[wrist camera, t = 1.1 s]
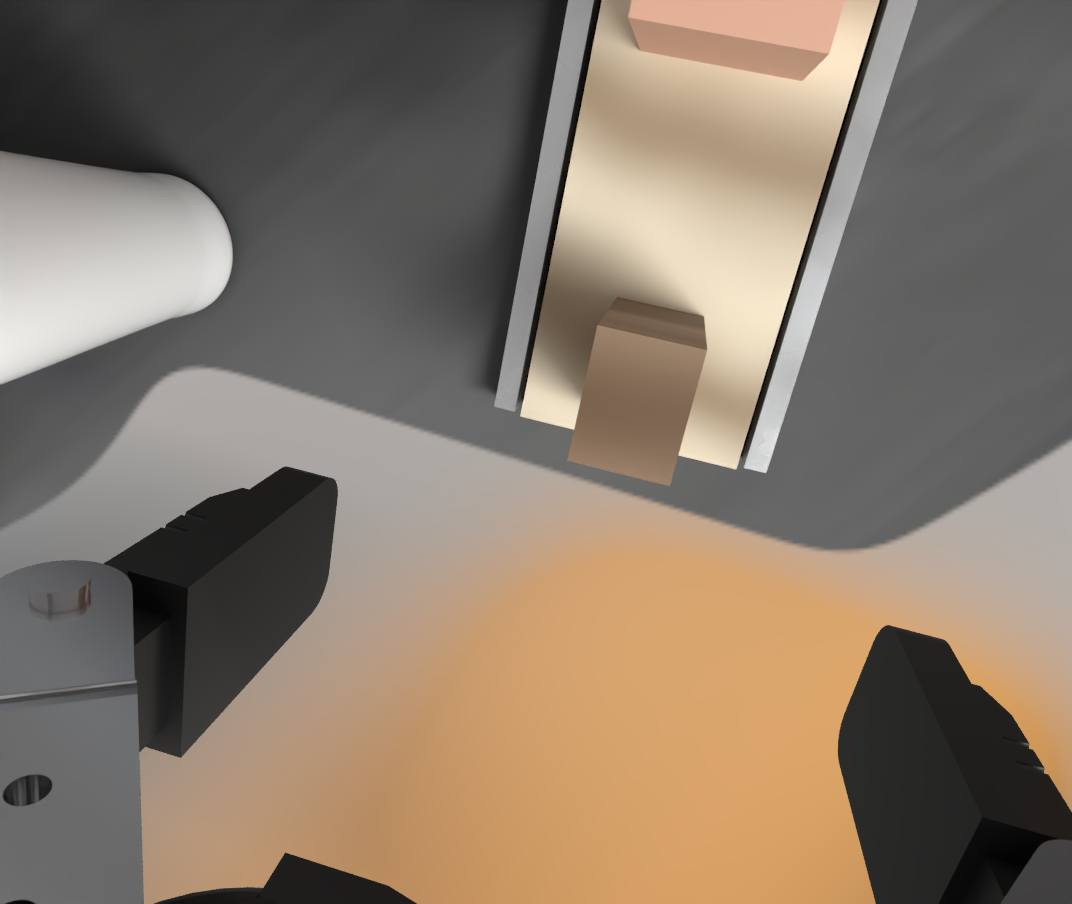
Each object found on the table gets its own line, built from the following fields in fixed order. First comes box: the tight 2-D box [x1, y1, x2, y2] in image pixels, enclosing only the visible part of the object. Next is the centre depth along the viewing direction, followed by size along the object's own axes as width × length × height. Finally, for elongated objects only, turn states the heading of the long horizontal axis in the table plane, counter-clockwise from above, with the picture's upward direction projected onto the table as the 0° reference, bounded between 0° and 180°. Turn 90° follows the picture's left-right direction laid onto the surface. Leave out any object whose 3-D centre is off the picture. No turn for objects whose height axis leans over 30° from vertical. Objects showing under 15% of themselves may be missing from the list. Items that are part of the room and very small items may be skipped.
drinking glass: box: [0, 151, 233, 385], centre depth 24 cm, size 7×7×15 cm
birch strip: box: [521, 0, 880, 486], centre depth 22 cm, size 22×8×8 cm, turn 169°
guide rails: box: [494, 0, 918, 473], centre depth 25 cm, size 22×10×1 cm, turn 169°
